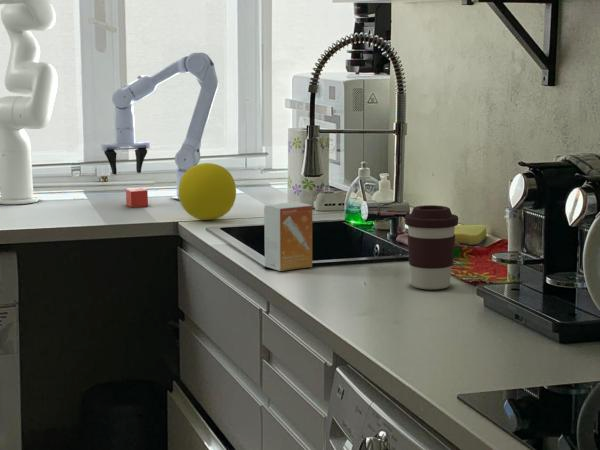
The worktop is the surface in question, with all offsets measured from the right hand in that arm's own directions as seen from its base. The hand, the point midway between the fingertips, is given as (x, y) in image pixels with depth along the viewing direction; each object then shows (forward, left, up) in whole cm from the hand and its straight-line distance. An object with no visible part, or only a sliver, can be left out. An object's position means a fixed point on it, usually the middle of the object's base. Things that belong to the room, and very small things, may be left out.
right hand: (126, 173), depth 318 cm
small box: (+37, +110, -8) cm, 116 cm away
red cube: (+7, +14, -8) cm, 17 cm away
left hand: (+59, -5, +28) cm, 65 cm away
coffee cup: (+31, +142, -8) cm, 146 cm away
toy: (+9, +50, -8) cm, 51 cm away
